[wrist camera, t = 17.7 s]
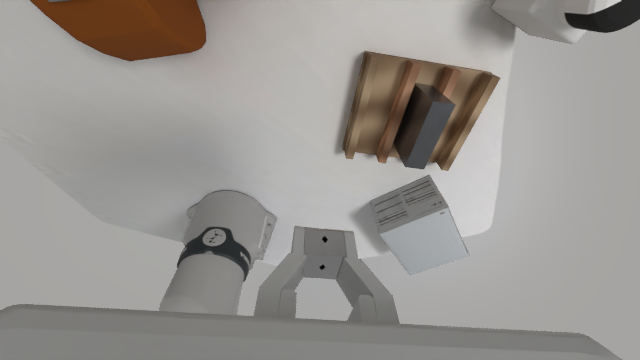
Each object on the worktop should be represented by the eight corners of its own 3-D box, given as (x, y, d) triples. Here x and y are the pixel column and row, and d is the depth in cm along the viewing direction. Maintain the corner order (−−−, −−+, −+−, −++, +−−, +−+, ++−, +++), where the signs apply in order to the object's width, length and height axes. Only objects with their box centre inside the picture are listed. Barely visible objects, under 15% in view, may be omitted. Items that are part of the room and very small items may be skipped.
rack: (441, 160, 47) (449, 170, 44) (342, 147, 45) (344, 158, 42) (488, 71, 38) (502, 78, 35) (365, 50, 36) (369, 56, 33)
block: (408, 143, 44) (424, 169, 37) (391, 140, 43) (405, 166, 37) (432, 85, 38) (455, 104, 31) (413, 82, 38) (433, 101, 31)
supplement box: (368, 200, 54) (377, 234, 46) (429, 173, 49) (449, 206, 42) (397, 242, 62) (409, 277, 55) (451, 222, 58) (471, 257, 51)
